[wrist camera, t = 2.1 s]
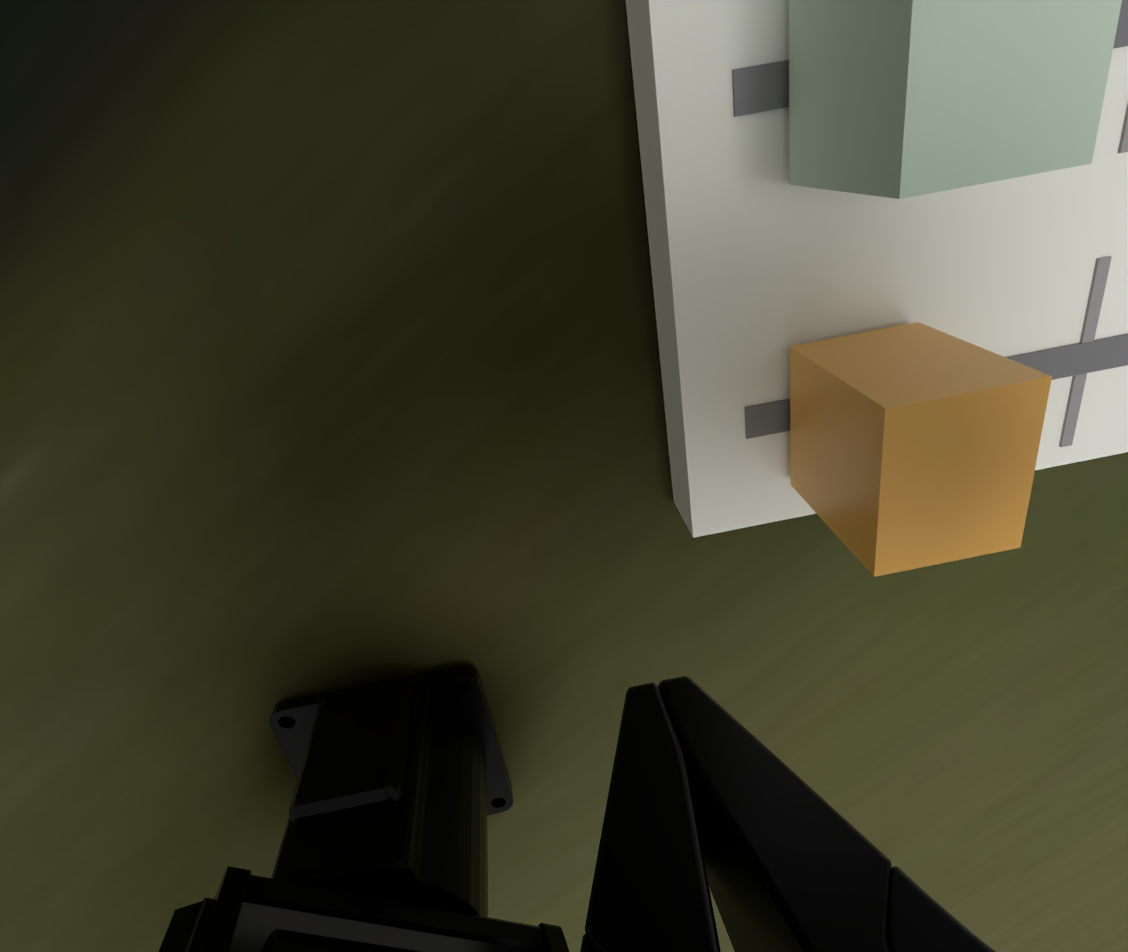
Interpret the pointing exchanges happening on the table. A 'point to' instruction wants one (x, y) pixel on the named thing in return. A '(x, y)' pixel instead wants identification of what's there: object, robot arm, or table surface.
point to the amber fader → (914, 444)
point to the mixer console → (849, 261)
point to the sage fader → (943, 91)
